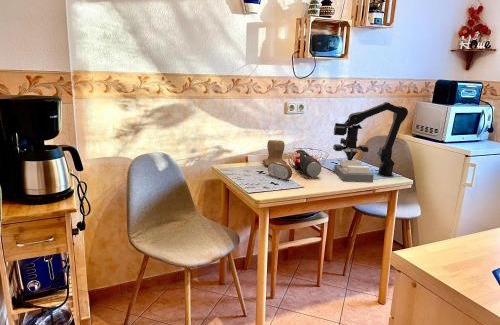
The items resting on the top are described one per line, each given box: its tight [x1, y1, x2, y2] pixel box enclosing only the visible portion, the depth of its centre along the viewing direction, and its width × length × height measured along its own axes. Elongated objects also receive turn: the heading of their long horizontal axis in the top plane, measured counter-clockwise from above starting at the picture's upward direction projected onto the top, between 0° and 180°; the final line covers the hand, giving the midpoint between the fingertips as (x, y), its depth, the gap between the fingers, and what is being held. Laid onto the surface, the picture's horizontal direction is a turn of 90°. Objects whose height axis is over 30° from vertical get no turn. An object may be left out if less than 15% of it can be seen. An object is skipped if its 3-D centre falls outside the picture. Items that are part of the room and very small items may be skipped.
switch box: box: [333, 164, 375, 183], centre depth 208 cm, size 16×19×4 cm
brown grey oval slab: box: [267, 161, 293, 181], centre depth 199 cm, size 15×3×8 cm, turn 47°
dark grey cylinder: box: [294, 149, 322, 178], centre depth 212 cm, size 10×28×10 cm, turn 8°
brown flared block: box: [262, 139, 287, 166], centre depth 225 cm, size 15×12×15 cm
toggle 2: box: [347, 165, 370, 173], centre depth 200 cm, size 11×3×3 cm, turn 93°
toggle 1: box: [339, 159, 362, 167], centre depth 212 cm, size 11×3×3 cm, turn 93°
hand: (349, 162), depth 215 cm, fingers closed
